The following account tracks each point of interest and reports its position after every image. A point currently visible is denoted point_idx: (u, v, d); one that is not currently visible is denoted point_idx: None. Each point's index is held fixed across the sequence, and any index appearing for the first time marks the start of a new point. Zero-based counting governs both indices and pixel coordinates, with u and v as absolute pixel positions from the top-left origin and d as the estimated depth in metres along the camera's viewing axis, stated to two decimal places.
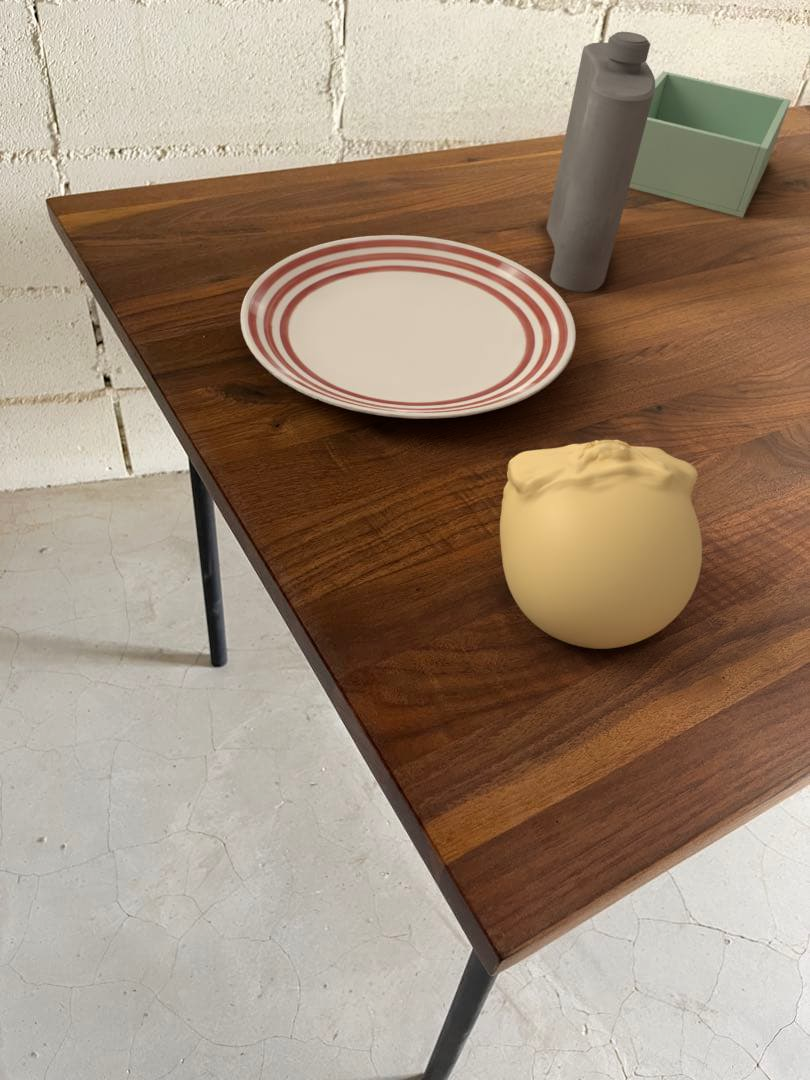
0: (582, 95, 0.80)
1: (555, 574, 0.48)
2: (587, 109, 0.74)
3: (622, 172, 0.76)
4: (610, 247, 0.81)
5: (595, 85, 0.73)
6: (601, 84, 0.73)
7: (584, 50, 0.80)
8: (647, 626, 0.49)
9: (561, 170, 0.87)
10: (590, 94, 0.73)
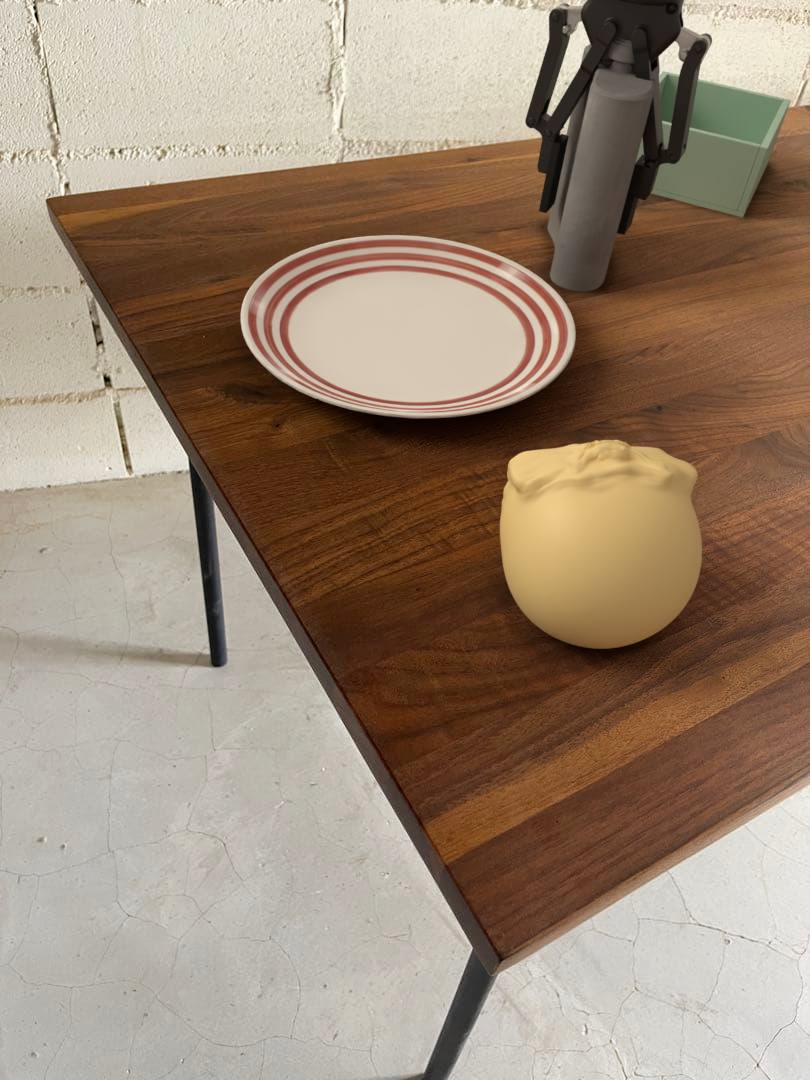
0: (583, 95, 0.80)
1: (555, 574, 0.48)
2: (587, 109, 0.74)
3: (622, 172, 0.76)
4: (609, 247, 0.81)
5: (595, 85, 0.73)
6: (601, 84, 0.73)
7: (585, 50, 0.80)
8: (647, 626, 0.49)
9: (562, 170, 0.87)
10: (590, 94, 0.73)
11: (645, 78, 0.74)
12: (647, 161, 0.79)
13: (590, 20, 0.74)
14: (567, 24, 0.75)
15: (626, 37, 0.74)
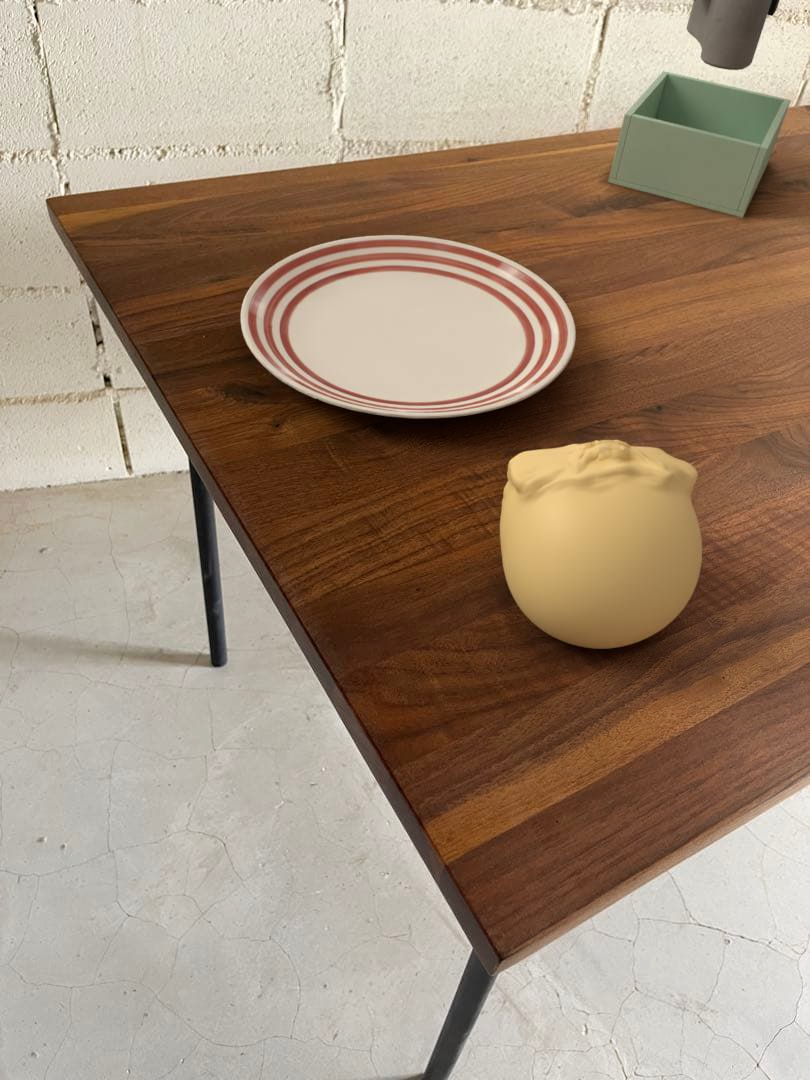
0: None
1: (555, 574, 0.48)
2: None
3: None
4: (763, 21, 0.86)
5: None
6: None
7: None
8: (647, 626, 0.49)
9: None
10: None
11: None
12: None
13: None
14: None
15: None
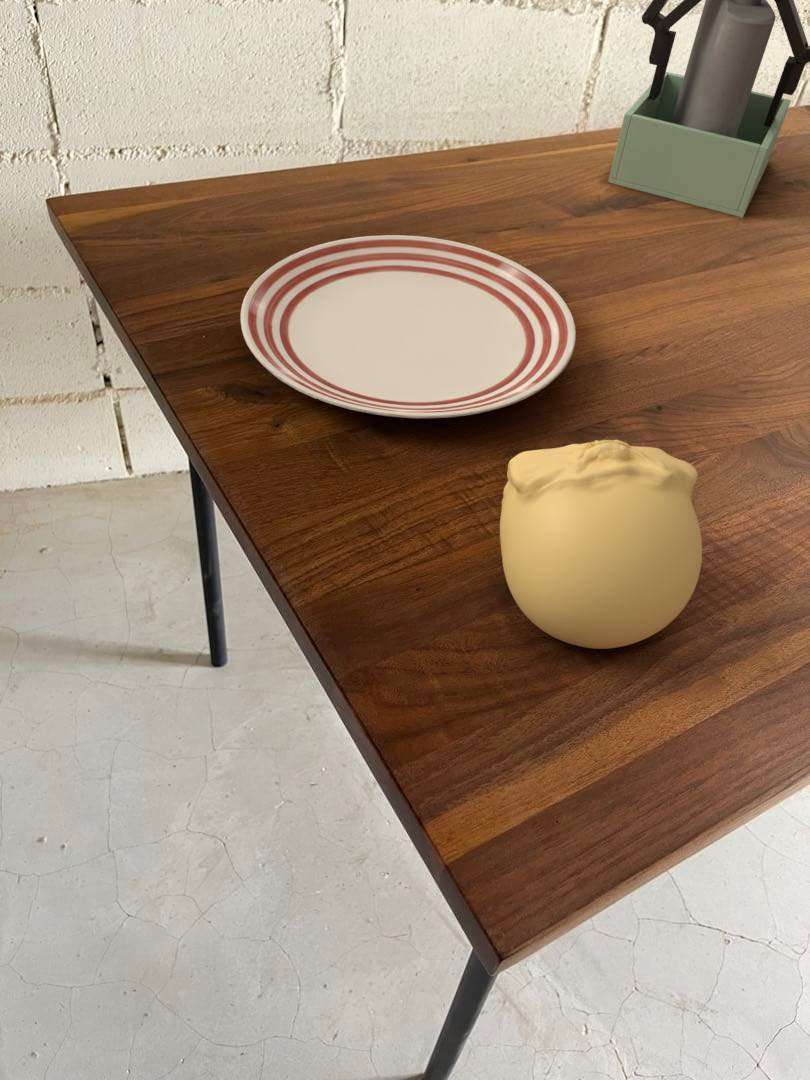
0: (708, 26, 0.97)
1: (555, 574, 0.48)
2: (720, 33, 0.91)
3: (746, 86, 0.93)
4: None
5: (728, 12, 0.90)
6: (733, 12, 0.90)
7: None
8: (647, 626, 0.49)
9: (683, 93, 1.04)
10: (723, 20, 0.90)
11: None
12: (798, 59, 0.93)
13: None
14: None
15: None
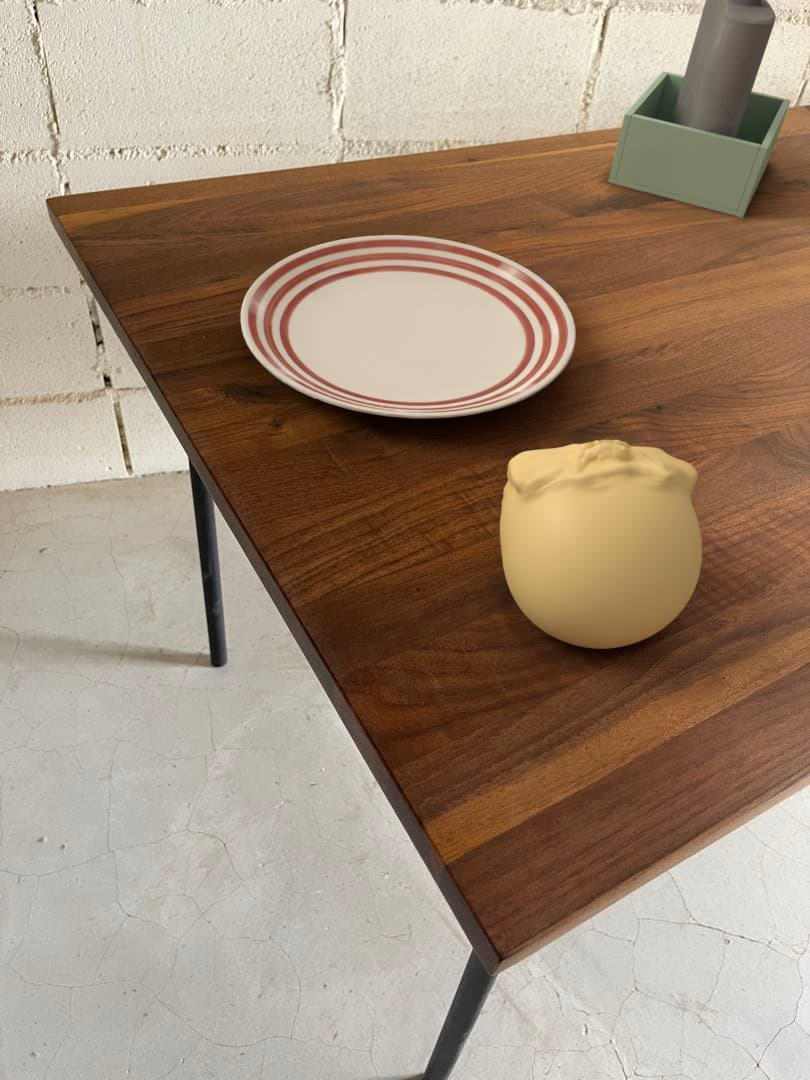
0: (708, 26, 0.97)
1: (555, 574, 0.48)
2: (720, 33, 0.91)
3: (746, 86, 0.93)
4: None
5: (729, 12, 0.90)
6: (733, 12, 0.90)
7: None
8: (647, 626, 0.49)
9: (683, 93, 1.04)
10: (724, 20, 0.90)
11: None
12: None
13: None
14: None
15: None
